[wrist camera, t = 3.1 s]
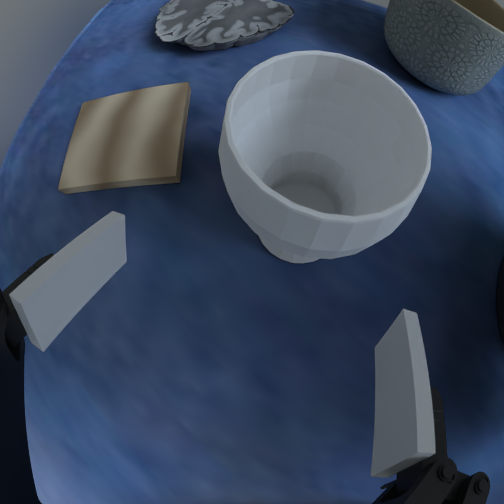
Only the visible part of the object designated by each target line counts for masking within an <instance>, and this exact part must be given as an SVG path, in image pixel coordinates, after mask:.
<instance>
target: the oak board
mask: <svg viewBox="0 0 504 504" xmlns="http://www.w3.org/2000/svg"><path fill="white" fill-rule="evenodd" d="M190 95H191V88H190V85H189V82H184V83H176V84H169V85H162V86H156V87H150V88H145V89H139V90H134V91H129V92H124V93H120V94H115V95H111V96H107V97H103V98H99V99H95V100H91V101H87V102H84V103H83V104H82V107H81V110H80V112H79V115H78V118H77V121H76V124H75V127H74V130H73V134H72V137H71V140H70V144H69V147H68V151H67V154H66V158H65V162H64V166H63V170H62V174H61V178H60V182H59V187H58V190H59V191H61V192H62V193H64V194H71V193H79V192H86V191H94V190H103V189H112V188H121V187H131V186H142V185H154V184H167V183H180V177H181V166H182V157H183V148H184V139H185V131H186V123H187V116H188V109H189V102H190Z"/></svg>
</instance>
